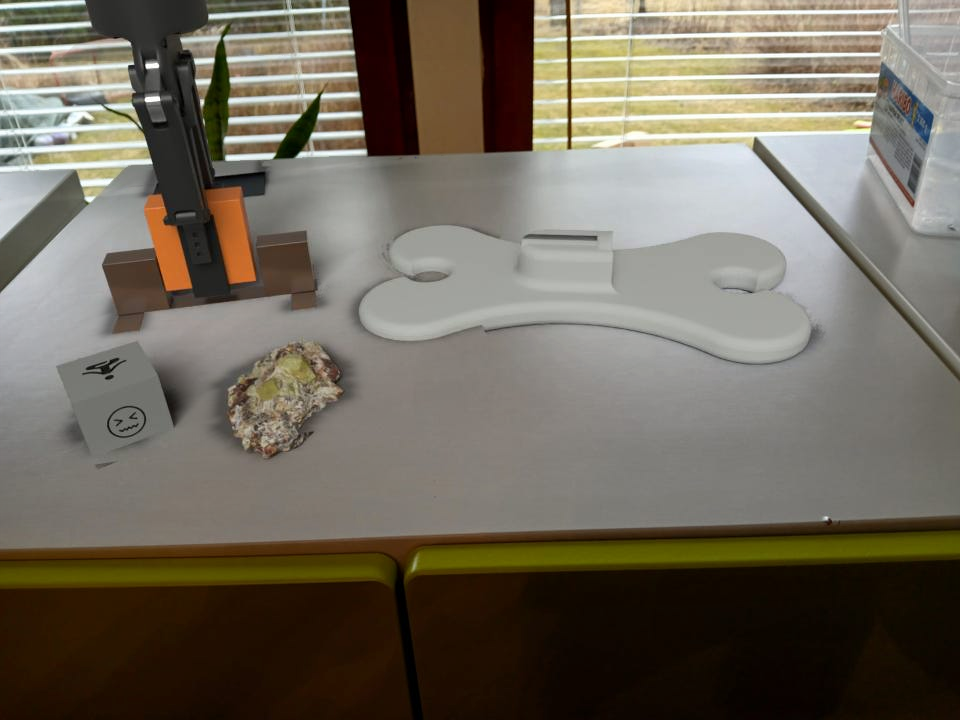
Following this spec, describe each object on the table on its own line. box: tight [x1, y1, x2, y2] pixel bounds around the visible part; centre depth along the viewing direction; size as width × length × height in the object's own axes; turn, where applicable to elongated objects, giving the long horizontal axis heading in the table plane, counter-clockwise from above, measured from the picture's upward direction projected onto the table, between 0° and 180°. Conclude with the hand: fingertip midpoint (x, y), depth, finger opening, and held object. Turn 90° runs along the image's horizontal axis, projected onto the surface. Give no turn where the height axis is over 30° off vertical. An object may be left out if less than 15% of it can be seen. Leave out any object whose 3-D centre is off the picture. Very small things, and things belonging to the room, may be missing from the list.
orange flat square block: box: [143, 187, 258, 292], centre depth 63 cm, size 3×7×7 cm, turn 102°
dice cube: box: [55, 340, 175, 470], centre depth 51 cm, size 5×5×5 cm
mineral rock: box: [226, 339, 345, 460], centre depth 53 cm, size 11×4×8 cm
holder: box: [358, 224, 813, 365], centre depth 64 cm, size 19×34×5 cm, turn 82°
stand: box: [101, 230, 319, 335], centre depth 64 cm, size 8×16×6 cm, turn 102°
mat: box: [152, 170, 266, 198], centre depth 91 cm, size 12×12×1 cm
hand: (214, 283), depth 65 cm, fingers closed on orange flat square block, 3 cm apart
